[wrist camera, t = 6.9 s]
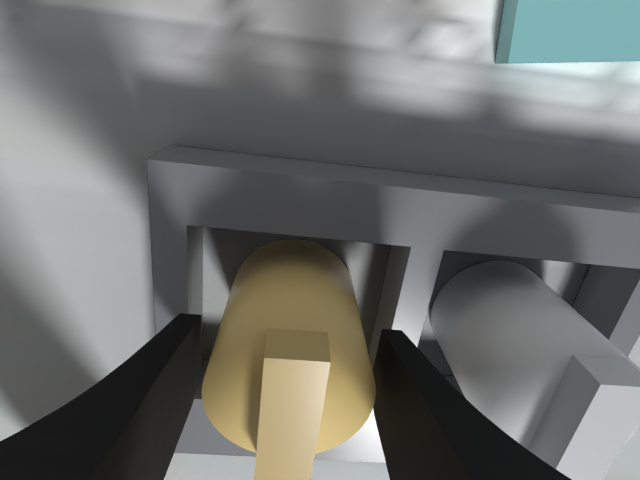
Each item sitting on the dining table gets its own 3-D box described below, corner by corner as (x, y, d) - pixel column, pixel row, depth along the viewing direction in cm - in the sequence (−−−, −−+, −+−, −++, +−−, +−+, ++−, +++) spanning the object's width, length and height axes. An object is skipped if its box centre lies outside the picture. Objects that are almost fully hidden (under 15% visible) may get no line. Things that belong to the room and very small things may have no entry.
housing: (648, 199, 14) (702, 220, 12) (538, 429, 18) (565, 471, 16) (169, 144, 12) (146, 159, 10) (177, 409, 17) (162, 452, 15)
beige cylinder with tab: (361, 244, 14) (400, 363, 8) (343, 344, 16) (366, 496, 10) (235, 232, 14) (190, 349, 8) (231, 336, 15) (192, 490, 10)
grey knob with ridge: (562, 266, 14) (720, 388, 9) (522, 360, 16) (635, 511, 11) (446, 255, 14) (538, 376, 9) (419, 353, 16) (481, 505, 10)
